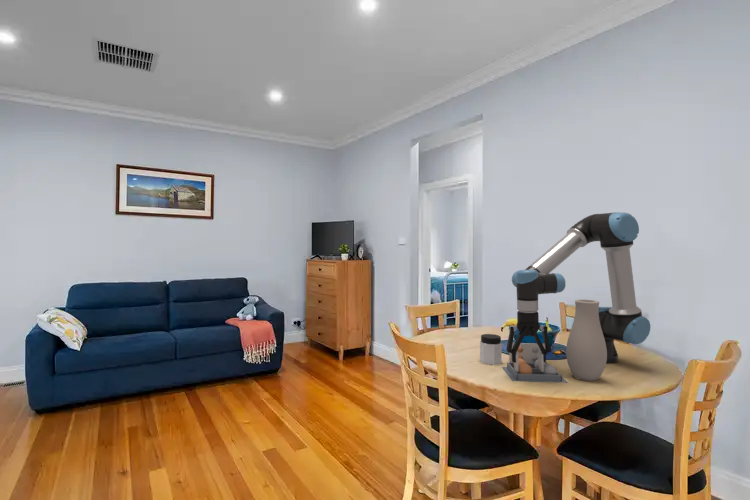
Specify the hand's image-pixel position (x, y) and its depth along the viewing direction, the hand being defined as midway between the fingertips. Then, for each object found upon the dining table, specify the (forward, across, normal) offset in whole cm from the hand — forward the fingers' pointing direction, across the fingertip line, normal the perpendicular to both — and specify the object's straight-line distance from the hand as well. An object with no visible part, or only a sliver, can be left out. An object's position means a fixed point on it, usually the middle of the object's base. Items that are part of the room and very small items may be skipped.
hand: (528, 370), depth 157 cm
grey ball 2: (+3, -7, 0) cm, 7 cm away
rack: (+4, -2, -4) cm, 6 cm away
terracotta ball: (+2, +2, -7) cm, 8 cm away
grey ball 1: (+3, -6, -7) cm, 10 cm away
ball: (+2, +2, 0) cm, 3 cm away
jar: (+3, +10, -19) cm, 22 cm away
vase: (+4, -22, -2) cm, 22 cm away
